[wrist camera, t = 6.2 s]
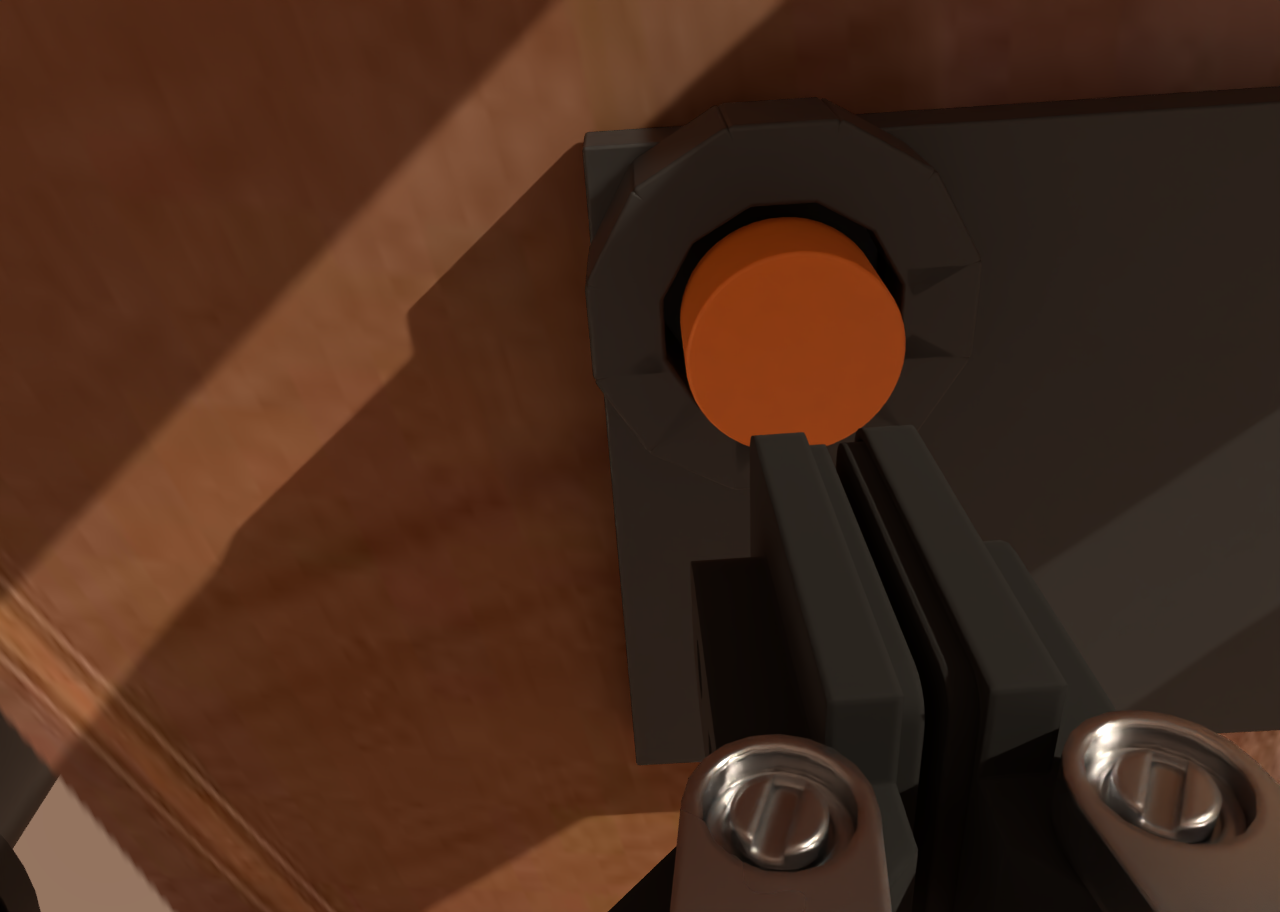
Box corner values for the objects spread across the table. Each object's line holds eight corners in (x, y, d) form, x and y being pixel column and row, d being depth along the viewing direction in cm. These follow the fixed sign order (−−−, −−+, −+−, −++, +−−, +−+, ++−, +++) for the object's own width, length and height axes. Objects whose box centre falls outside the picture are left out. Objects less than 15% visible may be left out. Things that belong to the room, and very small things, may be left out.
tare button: (683, 409, 17) (689, 460, 15) (675, 222, 15) (680, 259, 14) (873, 397, 17) (898, 448, 15) (885, 208, 15) (915, 244, 14)
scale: (633, 728, 24) (635, 830, 21) (578, 98, 17) (570, 136, 14) (1305, 691, 24) (1389, 790, 21) (1544, 33, 16) (1718, 60, 14)
